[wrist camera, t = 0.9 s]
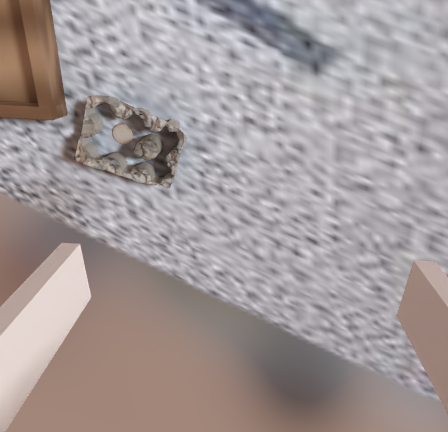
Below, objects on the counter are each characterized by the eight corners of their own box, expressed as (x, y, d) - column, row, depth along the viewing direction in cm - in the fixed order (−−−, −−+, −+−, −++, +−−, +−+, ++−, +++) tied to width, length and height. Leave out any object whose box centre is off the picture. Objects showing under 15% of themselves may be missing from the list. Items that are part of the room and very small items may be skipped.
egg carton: (85, 149, 39) (67, 159, 35) (100, 84, 36) (82, 88, 32) (172, 186, 40) (164, 199, 36) (195, 126, 37) (188, 134, 33)
